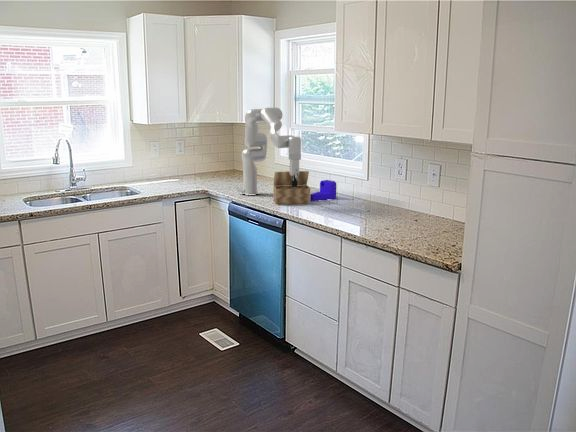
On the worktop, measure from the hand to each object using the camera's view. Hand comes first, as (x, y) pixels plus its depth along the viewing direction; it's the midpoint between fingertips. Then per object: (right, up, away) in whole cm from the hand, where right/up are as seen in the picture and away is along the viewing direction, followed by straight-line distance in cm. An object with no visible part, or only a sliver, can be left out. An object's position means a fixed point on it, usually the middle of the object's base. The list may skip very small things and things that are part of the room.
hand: (294, 186), depth 326 cm
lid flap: (-2, +6, +13) cm, 14 cm away
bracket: (+18, -7, +24) cm, 31 cm away
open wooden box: (-2, -9, +14) cm, 17 cm away
